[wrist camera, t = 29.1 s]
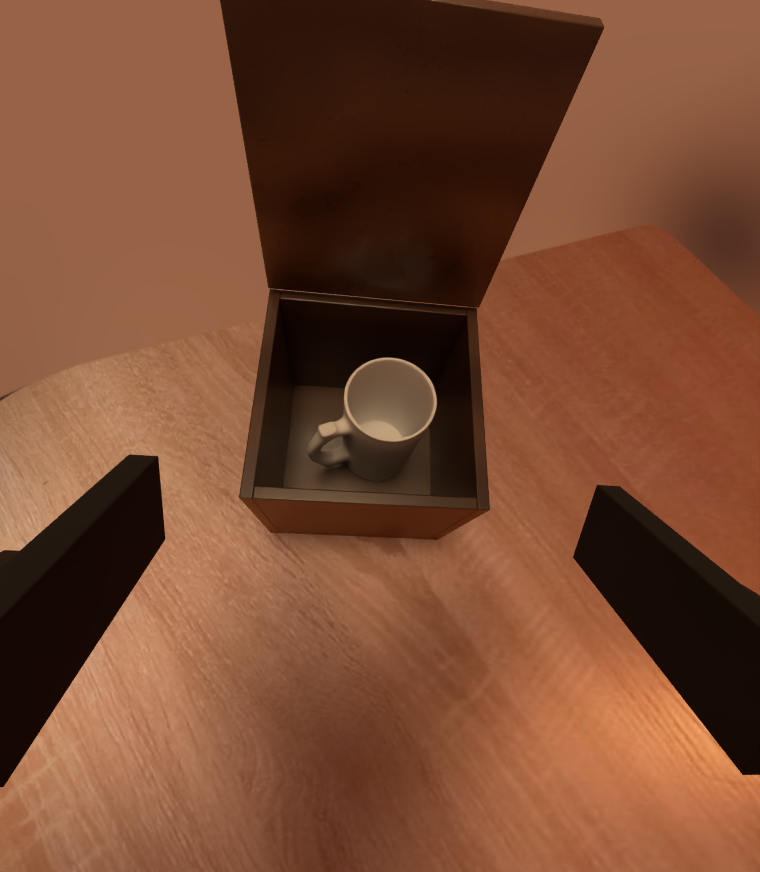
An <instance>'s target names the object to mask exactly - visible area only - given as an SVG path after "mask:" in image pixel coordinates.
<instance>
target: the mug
mask: <svg viewBox="0 0 760 872" xmlns="http://www.w3.org/2000/svg"><path fill="white" fill-rule="evenodd" d="M436 406H437V397H436V392H435V388H434V386H433V384H432V382H431V380H430V379H429V377H428V376H427V375H426V374H425V373H424V372H423V371H422V370H421V369H420V368H418V367H417V366H415V365H414V364H412V363H410V362H407V361H405V360H402V359H397V358H379V359H374V360H371V361H369V362H367V363H365V364H363V365H361V366H360V367H359V368H357V369H356V370H355V371H354V372H353V374H352V375H351V376H350V378H349V380H348V382H347V384H346V387H345V391H344V415H343V417H342V418H341V419H339V420H338V421H335V422H328V423H325V424H321V425H319V426H318V430H317V432H316V433H315V435H314V436H313V437H312V439H311V440H310V442H309V444H308V447H307V453H308V456H309V457H310V459H311V460H313V461H314V462H316V463H318V464H321V465H323V466H325V467H331V466H334V465H336V464H339V463H341V462H345V461H346V463H347V465H348V466H349V468H350V469H351V470H352V471H353V472H354V473H355V474H356V475H357V476H359V477H361V478H363V479H365V480H369V481H383V480H387V479H389V478H391V477H393V476H395V475H396V474H397V473H398V472H399V471H400V470H401V469H402V467H403V466H404V464H405V463H406V461H407V460H408V458H409V456H410V455H411V453H412V451H413V450H414V448H415V447H416V445H417V443H418V442H419V440H420V439H421V437H422V436H423V434H424V432H425V431H426V429H427V427H428V425H429V424H430V423H431V421H432V419H433V417H434V414H435V411H436ZM340 436H343V444H342V445H341V446H339V447H337V448H334V449H331V450H326V451H321V448H322V447H323V446H324V445H325V444H327V443H328V442H330V441H331V440H333V439H335V438H337V437H340Z"/></svg>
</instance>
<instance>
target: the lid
mask: <svg viewBox="0 0 760 872" xmlns="http://www.w3.org/2000/svg"><path fill="white" fill-rule="evenodd" d="M220 3H221V8H222V14H223V20H224V26H225V32H226V38H227V44H228V50H229V56H230V62H231V68H232V74H233V80H234V86H235V92H236V98H237V104H238V109H239V116H240V122H241V128H242V134H243V140H244V145H245V151H246V157H247V163H248V169H249V175H250V181H251V187H252V193H253V199H254V205H255V211H256V217H257V223H258V229H259V235H260V241H261V247H262V253H263V259H264V264H265V271H266V276H267V283H268V288H274V289H284V290H295V291H305V292H317V293H327V294H338V295H349V296H359V297H370V298H381V299H392V300H402V301H413V302H424V303H435V304H446V305H456V306H467V307H479V306H480V304H481V302H482V300H483V297H484V295H485V293H486V291H487V288H488V286H489V284H490V282H491V279H492V277H493V275H494V273H495V270H496V268H497V266H498V264H499V262H500V259H501V257H502V255H503V253H504V250H505V248H506V246H507V244H508V241H509V239H510V237H511V235H512V232H513V230H514V228H515V226H516V223H517V221H518V219H519V217H520V215H521V212H522V210H523V208H524V206H525V203H526V201H527V199H528V197H529V194H530V192H531V190H532V188H533V185H534V183H535V181H536V179H537V176H538V174H539V172H540V170H541V167H542V165H543V163H544V161H545V159H546V156H547V154H548V152H549V149H550V148H551V145H552V143H553V141H554V138H555V136H556V134H557V132H558V130H559V127H560V125H561V123H562V121H563V118H564V116H565V114H566V112H567V109H568V107H569V105H570V103H571V101H572V98H573V96H574V94H575V92H576V89H577V87H578V84H579V83H580V80H581V78H582V76H583V74H584V71H585V69H586V67H587V65H588V63H589V60H590V58H591V56H592V54H593V51H594V49H595V47H596V45H597V43H598V40H599V38H600V36H601V34H602V31H603V29H604V25H603V23H602V21H601V19H600V18H595V17H589V16H582V15H576V14H570V13H563V12H557V11H551V10H545V9H538V8H532V7H526V6H519V5H513V4H507V3H501V2H493V1H487V0H220Z"/></svg>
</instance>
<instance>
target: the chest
mask: <svg viewBox="0 0 760 872" xmlns="http://www.w3.org/2000/svg"><path fill="white" fill-rule="evenodd" d="M379 358H397V359H402V360H405V361H407V362H410V363H412V364H414V365H415V366H417V367H418V368H420V369H421V370H422V371H423V372H424V373H425V374H426V375H427V376H428V377H429V379H430V380H431V382H432V384H433V386H434V388H435V392H436V397H437V406H436V411H435V414H434V417H433V419H432V421H431V423H430V424H429V425H428V427H427V429H426V431H425V432H424V434H423V436H422V437H421V439H420V440H419V442H418V443H417V445H416V447H415V448H414V450H413V451H412V453H411V455H410V456H409V458H408V460H407V461H406V463H405V464H404V466H403V467H402V469H401V470H400V471H399V472H398V473H397V474H396V475H395V476H393V477H391V478H389V479H387V480H383V481H369V480H365V479H363V478H361V477H359V476H357V475H356V474H355V473H354V472H353V471H352V470H351V469H350V468H349V466H348V465H347V463H346V461H345V462H341V463H339V464H336V465H334V466H331V467H325V466H323V465H321V464H318V463H316V462H314V461H313V460H311V459H310V457H309V456H308V453H307V447H308V444H309V442H310V440H311V439H312V437H313V436H314V435H315V433H316V432H317V430H318V426H319V425H321V424H325V423H328V422H335V421H338V420H339V419H341V418H342V417H343V415H344V391H345V387H346V384H347V382H348V380H349V378H350V376H351V375H352V374H353V372H354V371H355V370H356V369H357V368H359V367H360V366H361V365H363V364H365V363H367V362H369V361H371V360H374V359H379ZM342 444H343V436H340V437H337V438H335V439H333V440H331V441H330V442H328V443H327V444H325V445H324V446H323V447H322V448H321V451H326V450H331V449H334V448H337V447H339V446H341V445H342ZM239 498H240V499H241V500H242V501H243V502H244V503H245V505H246V506H247V507H248V508H249V509H250V510H251V511H252V512H253V513H254V515H255V516H256V517H257V518H258V519H259V520H260V521H261V522H262V523H263V525H264V526H265V527H266V528H267V529H268V530H269V531H270V532H272V533H296V534H319V535H343V536H366V537H390V538H413V539H439V538H441V537H443V536H445V535H446V534H448V533H450V532H452V531H454V530H455V529H457V528H459V527H461V526H462V525H464V524H466V523H468V522H469V521H471V520H473V519H475V518H477V517H478V516H480V515H482V514H484V513H485V512H487V511H489V510H490V506H489V491H488V476H487V460H486V445H485V430H484V415H483V399H482V384H481V369H480V354H479V338H478V323H477V309H476V308H470V307H467V308H466V307H458V306H447V305H436V304H425V303H414V302H404V301H393V300H382V299H371V298H360V297H350V296H339V295H328V294H317V293H306V292H295V291H285V290H275V289H270V293H269V299H268V307H267V312H266V319H265V326H264V333H263V339H262V346H261V353H260V360H259V366H258V373H257V380H256V387H255V393H254V400H253V407H252V414H251V420H250V427H249V434H248V441H247V448H246V454H245V461H244V468H243V475H242V481H241V488H240V495H239Z"/></svg>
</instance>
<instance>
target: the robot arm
mask: <svg viewBox="0 0 760 872" xmlns="http://www.w3.org/2000/svg"><path fill="white" fill-rule="evenodd" d="M164 540H165V531H164V519H163V508H162V496H161V484H160V473H159V461H158V456H144V455H128V456H127V457H126V458H125V459H123V460H122V461H121V462H120V463H119V464H118V465H117V466H116V467H114V468H113V469H112V470H111V471H110V472H109V473H108V474H106V475H105V476H104V477H103V478H102V479H101V480H100V481H99V482H97V483H96V484H95V485H94V486H93V487H92V488H91V489H89V490H88V491H87V492H86V493H85V494H84V495H83V496H82V497H80V498H79V499H78V500H77V501H76V502H75V503H74V504H72V505H71V506H70V507H69V508H68V509H67V510H66V511H65V512H63V513H62V514H61V515H60V516H59V517H58V518H57V519H55V520H54V521H53V522H52V523H51V524H50V525H49V526H48V527H46V528H45V529H44V530H43V531H42V532H41V533H40V534H38V535H37V536H36V537H35V538H34V539H33V540H32V541H31V542H29V543H28V544H27V545H26V546H25V547H24V548H23V549H21V550H20V551H11V550H4V551H2V552H0V787H4V785H5V784H6V782H7V781H8V779H9V778H10V776H11V775H12V773H13V772H14V770H15V769H16V767H17V765H18V764H19V762H20V761H21V759H22V758H23V756H24V755H25V753H26V752H27V750H28V749H29V747H30V746H31V744H32V742H33V741H34V739H35V738H36V736H37V735H38V733H39V732H40V730H41V729H42V727H43V726H44V724H45V723H46V721H47V719H48V718H49V716H50V715H51V713H52V712H53V710H54V709H55V707H56V706H57V704H58V703H59V701H60V700H61V698H62V697H63V695H64V693H65V692H66V690H67V689H68V687H69V686H70V684H71V683H72V681H73V680H74V678H75V677H76V675H77V674H78V672H79V670H80V669H81V667H82V666H83V664H84V663H85V661H86V660H87V658H88V657H89V655H90V654H91V652H92V651H93V649H94V647H95V646H96V644H97V643H98V641H99V640H100V638H101V637H102V635H103V634H104V632H105V631H106V629H107V628H108V626H109V624H110V623H111V621H112V620H113V618H114V617H115V615H116V614H117V612H118V611H119V609H120V608H121V606H122V605H123V603H124V602H125V600H126V598H127V597H128V595H129V594H130V592H131V591H132V589H133V588H134V586H135V585H136V583H137V582H138V580H139V579H140V577H141V575H142V574H143V572H144V571H145V569H146V568H147V566H148V565H149V563H150V562H151V560H152V559H153V557H154V556H155V554H156V552H157V551H158V549H159V548H160V546H161V545H162V543H163V542H164ZM573 558H574V559H575V561H576V562H577V563H578V564H579V566H580V567H581V568H582V569H583V571H584V572H585V573H586V575H587V576H588V577H589V578H590V580H591V581H592V582H593V584H594V585H595V586H596V587H597V589H598V590H599V591H600V593H601V594H602V595H603V596H604V598H605V599H606V600H607V602H608V603H609V604H610V605H611V607H612V608H613V609H614V611H615V612H616V613H617V614H618V616H619V617H620V618H621V619H622V621H623V622H624V623H625V625H626V626H627V627H628V628H629V630H630V631H631V632H632V634H633V635H634V636H635V637H636V639H637V640H638V641H639V643H640V644H641V645H642V646H643V648H644V649H645V650H646V652H647V653H648V654H649V655H650V657H651V658H652V659H653V660H654V662H655V663H656V664H657V666H658V667H659V668H660V669H661V671H662V672H663V673H664V675H665V676H666V677H667V678H668V680H669V681H670V682H671V684H672V685H673V686H674V687H675V689H676V690H677V691H678V693H679V694H680V695H681V696H682V698H683V699H684V700H685V702H686V703H687V704H688V705H689V707H690V708H691V709H692V710H693V712H694V713H695V714H696V716H697V717H698V718H699V719H700V721H701V722H702V723H703V725H704V726H705V727H706V728H707V730H708V731H709V732H710V734H711V735H712V736H713V737H714V739H715V740H716V741H717V743H718V744H719V745H720V746H721V748H722V749H723V750H724V751H725V753H726V754H727V755H728V757H729V758H730V759H731V760H732V762H733V763H734V764H735V766H736V767H737V768H738V769H739V771H740V772H741V773H742V775H760V596H759V595H758V594H757V593H755V592H753V591H752V590H750V589H748V588H747V587H745V586H743V585H741V584H740V583H739V582H737V581H736V580H735V579H734V578H732V577H731V576H730V575H729V574H728V573H726V572H725V571H724V570H723V569H721V568H720V567H719V566H718V565H716V564H715V563H714V562H713V561H711V560H710V559H709V558H708V557H706V556H705V555H704V554H703V553H702V552H700V551H699V550H698V549H697V548H695V547H694V546H693V545H692V544H690V543H689V542H688V541H687V540H685V539H684V538H683V537H682V536H680V535H679V534H678V533H677V532H675V531H674V530H673V529H672V528H671V527H669V526H668V525H667V524H666V523H664V522H663V521H662V520H661V519H659V518H658V517H657V516H656V515H654V514H653V513H652V512H651V511H649V510H648V509H647V508H646V507H644V506H643V505H642V504H641V503H640V502H638V501H637V500H636V499H635V498H633V497H632V496H631V495H630V494H628V493H627V492H626V491H625V490H623V489H622V488H621V487H620V486H604V485H597V487H596V490H595V493H594V496H593V499H592V502H591V505H590V508H589V511H588V514H587V517H586V520H585V523H584V526H583V529H582V532H581V535H580V538H579V541H578V544H577V547H576V550H575V553H574V556H573Z"/></svg>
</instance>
